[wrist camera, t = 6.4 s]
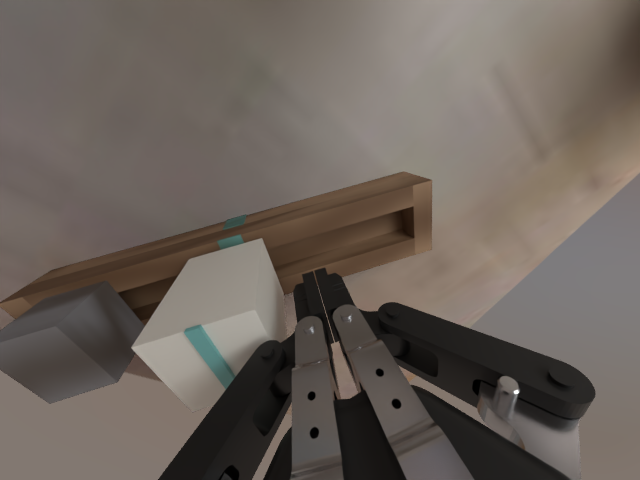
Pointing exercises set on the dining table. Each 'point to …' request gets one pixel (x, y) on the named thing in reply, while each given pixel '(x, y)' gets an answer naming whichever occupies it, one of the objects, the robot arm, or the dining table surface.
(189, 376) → the block
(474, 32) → the dining table surface
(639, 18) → the dining table surface
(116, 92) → the dining table surface
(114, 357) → the beam
